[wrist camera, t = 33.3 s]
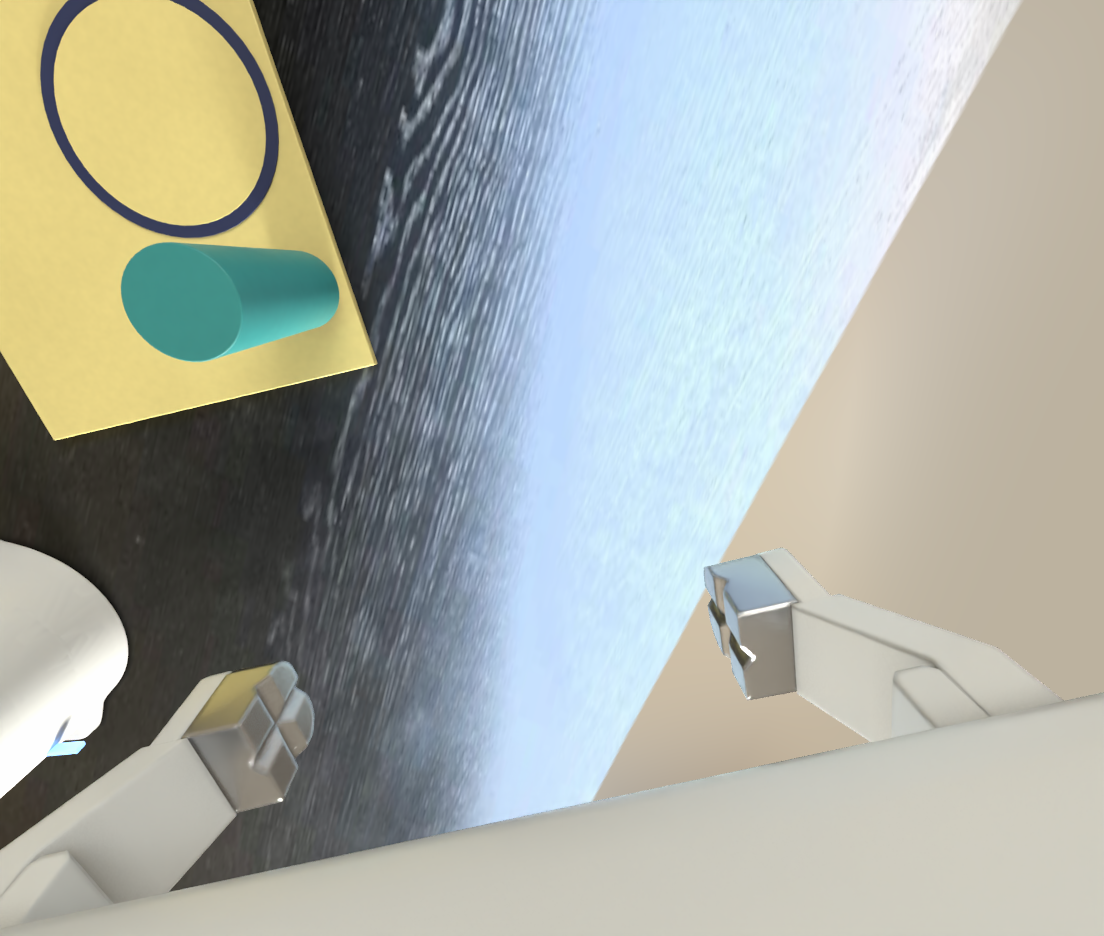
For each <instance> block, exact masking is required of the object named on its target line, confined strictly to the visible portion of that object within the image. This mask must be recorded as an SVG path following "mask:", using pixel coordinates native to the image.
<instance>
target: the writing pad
mask: <svg viewBox="0 0 1104 936" xmlns="http://www.w3.org/2000/svg"><path fill="white" fill-rule="evenodd" d="M162 242H176V243H191V244H206V245H221V246H236V247H251V248H266V249H281V250H296V251H303V252H307V253H310V254H312V255H314V256H316V257H317V258H319V259H320V260H322V261H323V262H324V263H325V264H326V265H327V266H328V267H329V269H330V270H331V271H332V273H333V275H334V276H335V279H336V281H337V284H338V287H339V304H338V308H337V310H336V312H335V314H334V316H333V317H332V318H331V319H330V320H329V321H328V322H327V323H326V324H324V325H322V326H320V327H317V328H314V329H311V330H307V331H304V332H301V333H298V334H294V335H291V336H288V337H285V338H281V339H278V340H275V341H272V342H268V343H265V344H262V345H259V346H255V347H252V348H249V349H246V350H242V351H239V352H236V353H233V354H229V355H226V356H223V357H220V358H216V359H213V360H210V361H204V362H188V361H183V360H178V359H175V358H173V357H170V356H168V355H166V354H164V353H162V352H160V351H158V350H157V349H155V348H154V347H153V346H151V345H150V344H149V343H148V342H146V341H145V340H144V339H143V338H142V337H141V336H140V334H139V333H138V332H137V331H136V330H135V328H134V327H133V325H132V324H131V322H130V320H129V318H128V316H127V314H126V312H125V309H124V306H123V303H122V297H121V280H122V276H123V272H124V270H125V267H126V265H127V264H128V262H129V261H130V259H131V258H132V257H133V256H134V255H135V254H136V253H137V252H139V251H140V250H141V249H143V248H145V247H147V246H149V245H153V244H156V243H162ZM0 352H1V353H2V355H3V356H4V358H5V360H6V361H7V363H8V365H9V366H10V368H11V370H12V371H13V373H14V375H15V376H16V378H17V380H18V381H19V383H20V385H21V386H22V388H23V390H24V391H25V393H26V395H27V396H28V398H29V400H30V401H31V403H32V405H33V406H34V408H35V410H36V411H37V413H38V415H39V416H40V418H41V420H42V421H43V423H44V425H45V426H46V428H47V429H48V431H49V433H50V434H51V436H52V438H53V439H54V440H59V439H63V438H67V437H72V436H76V435H80V434H84V433H89V432H93V431H97V430H101V429H106V428H110V427H114V426H118V425H123V424H127V423H131V422H135V421H139V420H144V419H148V418H152V417H156V416H161V415H165V414H169V413H173V412H178V411H182V410H186V409H190V408H195V407H199V406H203V405H207V404H212V403H216V402H220V401H224V400H229V399H233V398H237V397H241V396H245V395H250V394H254V393H258V392H262V391H267V390H271V389H275V388H279V387H284V386H288V385H292V384H296V383H301V382H305V381H309V380H313V379H318V378H322V377H326V376H330V375H334V374H339V373H343V372H347V371H351V370H356V369H360V368H364V367H368V366H373V365H375V364H377V360H376V358H375V355H374V352H373V349H372V346H371V343H370V340H369V337H368V334H367V331H366V328H365V326H364V323H363V320H362V317H361V314H360V311H359V308H358V305H357V302H356V299H355V296H354V294H353V291H352V288H351V285H350V282H349V279H348V276H347V273H346V270H345V267H344V264H343V262H342V259H341V256H340V253H339V250H338V247H337V244H336V241H335V238H334V235H333V232H332V230H331V227H330V224H329V221H328V218H327V215H326V212H325V209H324V206H323V203H322V200H321V198H320V195H319V192H318V189H317V186H316V183H315V180H314V177H313V174H312V171H311V168H310V166H309V163H308V160H307V157H306V154H305V151H304V148H303V145H302V142H301V139H300V136H299V134H298V131H297V128H296V125H295V122H294V119H293V116H292V113H291V110H290V107H289V104H288V102H287V99H286V96H285V93H284V90H283V87H282V84H281V81H280V78H279V75H278V72H277V70H276V67H275V64H274V61H273V58H272V55H271V52H270V49H269V46H268V43H267V40H266V38H265V35H264V32H263V29H262V26H261V23H260V20H259V17H258V14H257V11H256V8H255V6H254V3H253V0H0Z"/></svg>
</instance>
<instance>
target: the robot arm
mask: <svg viewBox="0 0 1104 936" xmlns="http://www.w3.org/2000/svg"><path fill="white" fill-rule="evenodd" d="M704 581H705V586H706V588H707V590H708V592H709V594H710V595H711V597H712V599H711V601H710V602H709V604H708V610H709V615H710V621H711V625H712V628H713V632H714V635H715V638H716V640H717V643H718V645H719V647H720V649H721V651H722V653H723V655H725V656H727V657H729V658H731V664H732V671H733V674H734V676H735V678H736V680H737V681H738V683H739V685H740V687H741V689H742V691H743V693H744V694H745V696H746V698H747V700H753V699H758V698H764V697H769V696H774V695H780V694H785V693H790V692H796V691H797V694H798V695H800V696H801V697H803V698H804V699H806V700H808V701H809V702H811V703H812V704H814V705H815V706H817V707H818V708H820V709H821V710H823V711H824V712H826V713H827V714H829V715H831V716H832V717H834V718H835V719H837V720H838V721H840V722H841V723H843V724H844V725H846V726H847V727H849V728H850V729H852V730H853V731H855V732H857V733H858V734H860V735H861V736H863V737H864V738H866V739H867V740H869V741H870V742H869V743H865V744H860V745H855V746H851V747H846V748H841V749H836V750H832V751H827V752H822V753H818V754H813V755H808V756H804V757H799V758H794V759H790V760H785V761H781V762H776V763H772V764H767V765H762V766H758V767H753V768H749V769H744V770H739V771H735V772H731V773H726V774H721V775H716V776H712V777H708V778H703V779H698V780H693V781H688V782H683V783H679V784H674V785H669V786H664V787H660V788H655V789H650V790H646V791H641V792H637V793H631V794H627V795H622V796H617V797H612V798H608V799H604V800H598V801H593V802H589V803H584V804H579V805H575V806H570V807H565V808H560V809H556V810H551V811H546V812H541V813H537V814H532V815H527V816H523V817H518V818H513V819H509V820H504V821H499V822H495V823H490V824H485V825H481V826H476V827H471V828H467V829H462V830H457V831H453V832H448V833H443V834H439V835H434V836H429V837H425V838H420V839H415V840H411V841H406V842H401V843H397V844H392V845H387V846H383V847H378V848H373V849H369V850H364V851H360V852H355V853H350V854H346V855H341V856H336V857H332V858H327V859H322V860H318V861H313V862H308V863H304V864H299V865H294V866H289V867H285V868H280V869H275V870H271V871H266V872H261V873H257V874H252V875H247V876H243V877H238V878H233V879H229V880H224V881H219V882H215V883H210V884H205V885H201V886H196V887H191V888H187V889H182V890H177V891H172V892H169V891H170V890H171V889H172V888H173V886H174V885H175V884H176V883H177V882H178V881H179V880H180V878H181V877H182V876H183V875H184V874H185V873H186V872H187V871H188V869H189V868H190V867H191V866H192V865H193V864H194V863H195V862H196V860H197V859H198V858H199V857H200V856H201V855H202V854H203V853H204V851H205V850H206V849H207V848H208V847H209V846H210V845H211V844H212V842H213V841H214V840H215V839H216V838H217V837H218V836H219V835H220V833H221V832H222V831H223V830H224V829H225V828H226V827H227V826H228V824H229V823H230V822H231V821H232V820H233V819H234V818H235V817H236V815H237V814H236V813H237V812H241V811H245V810H249V809H253V808H257V807H261V806H265V805H269V804H273V803H277V802H281V801H283V800H284V798H285V796H286V794H287V791H288V789H289V787H290V785H291V782H292V780H293V778H294V776H295V773H296V771H297V769H298V765H297V763H296V760H295V758H296V757H297V756H298V755H299V754H300V753H301V752H302V751H303V750H304V749H305V748H306V747H307V746H308V744H309V741H310V739H311V736H312V734H313V729H314V718H315V715H314V711H313V706H312V703H311V701H310V699H309V697H308V695H307V694H306V693H305V692H303V691H301V690H299V689H298V688H296V687H295V685H296V682H297V678H298V675H297V674H296V672H295V670H294V668H293V667H292V665H291V663H288V662H285V661H279V662H274V663H269V664H264V665H259V666H254V667H249V668H244V669H239V670H234V671H229V672H225V673H220V674H216V675H211V676H209V677H206V678H204V679H202V680H201V681H200V682H199V683H198V685H197V686H196V687H195V688H194V690H193V691H192V692H191V694H190V695H189V696H188V697H187V699H186V700H185V701H184V703H183V704H182V705H181V706H180V708H179V709H178V710H177V712H176V713H175V714H174V715H173V717H172V718H171V719H170V721H169V722H168V723H167V724H166V726H165V727H164V728H163V730H162V731H161V732H160V734H159V735H158V736H157V737H156V739H155V740H154V741H153V743H152V744H151V745H150V746H148V747H144V748H141V749H139V750H138V751H137V752H135V753H134V754H132V755H131V756H130V757H128V758H127V759H126V760H124V761H123V762H121V763H120V764H119V765H117V766H116V767H114V768H113V769H112V770H110V771H109V772H108V773H106V774H105V775H103V776H102V777H101V778H99V779H98V780H97V781H95V782H94V783H92V784H91V785H90V786H88V787H87V788H85V789H84V790H83V791H81V792H80V793H79V794H77V795H76V796H74V797H73V798H72V799H70V800H69V801H68V802H66V803H65V804H63V805H62V806H61V807H59V808H58V809H56V810H55V811H54V812H52V813H51V814H50V815H48V816H47V817H45V818H44V819H43V820H41V821H40V822H39V823H37V824H36V825H34V826H33V827H32V828H30V829H29V830H27V831H26V832H25V833H23V834H22V835H21V836H19V837H18V838H16V839H15V840H14V841H12V842H11V843H10V844H8V845H7V846H5V847H4V848H3V849H1V850H0V936H1104V692H1103V693H1099V694H1094V695H1089V696H1085V697H1080V698H1076V699H1071V700H1066V701H1064V700H1063V699H1061V698H1060V697H1059V696H1058V695H1056V694H1055V693H1054V692H1053V691H1051V690H1050V689H1049V688H1048V687H1046V686H1045V685H1044V684H1042V683H1041V682H1040V681H1039V680H1037V679H1036V678H1035V677H1034V676H1033V675H1031V674H1030V673H1029V672H1028V671H1026V670H1025V669H1024V668H1023V667H1021V666H1020V665H1019V664H1017V663H1016V662H1015V661H1014V660H1013V659H1011V658H1010V657H1009V656H1008V655H1006V654H1005V653H1004V652H1003V651H1001V650H1000V649H999V648H998V647H995V646H992V645H989V644H986V643H983V642H980V641H977V640H974V639H971V638H968V637H966V636H963V635H960V634H956V633H954V632H951V631H948V630H945V629H942V628H939V627H936V626H933V625H930V624H927V623H924V622H921V621H918V620H915V619H912V618H909V617H906V616H903V615H900V614H897V613H894V612H892V611H889V610H886V609H883V608H880V607H877V606H874V605H870V604H868V603H865V602H862V601H859V600H856V599H853V598H850V597H847V596H844V595H841V594H837V595H832V596H831V595H830V594H829V593H828V592H827V591H826V590H825V589H824V588H823V587H822V585H820V583H819V582H818V581H817V580H816V579H815V578H814V577H812V575H811V574H810V573H809V572H808V571H807V570H806V569H805V568H804V567H803V566H802V565H801V564H800V563H799V562H798V561H797V560H796V559H795V557H794V556H793V555H792V554H791V553H790V552H789V551H788V550H787V549H784V548H779V549H774V550H770V551H767V552H763V553H759V554H756V555H753V556H750V557H745V558H741V559H737V560H732V561H728V562H724V563H720V564H716V565H711V566H707V567H704ZM127 660H128V642H127V637H126V633H125V630H124V627H123V625H122V622H121V620H120V618H119V616H118V614H117V613H116V611H115V609H114V608H113V607H112V605H111V604H110V602H109V601H108V600H107V599H106V597H105V596H104V595H103V594H102V593H101V592H100V591H99V590H98V589H97V588H96V587H95V586H94V585H93V584H92V583H91V582H90V581H88V580H87V579H86V578H85V577H83V576H82V575H81V574H79V573H78V572H77V571H75V570H74V569H72V568H70V567H69V566H67V565H66V564H64V563H62V562H60V561H59V560H57V559H55V558H52V557H50V556H48V555H46V554H44V553H41V552H39V551H36V550H33V549H31V548H27V547H24V546H21V545H17V544H13V543H9V542H6V541H2V540H0V798H1V797H2V796H3V795H4V794H5V793H7V792H8V791H9V790H10V789H11V788H12V787H13V786H14V785H15V784H17V783H18V782H19V781H20V780H21V779H22V778H23V777H24V776H25V775H27V774H28V773H29V772H30V771H31V770H32V769H33V768H34V767H35V766H36V765H38V764H39V763H40V762H41V761H42V760H43V759H44V758H45V757H46V756H54V755H66V754H77V753H78V752H79V751H80V750H81V749H82V748H83V747H84V745H85V742H84V741H79V742H68V743H62V742H63V741H64V740H78V739H83V738H85V737H87V736H88V735H89V734H90V733H91V732H92V731H93V730H95V729H96V728H97V727H98V726H99V724H100V722H101V719H102V713H103V703H104V700H105V698H106V697H107V695H108V694H109V693H110V692H111V691H112V689H113V688H114V687H115V686H116V685H117V683H118V682H119V681H120V679H121V677H122V676H123V673H124V671H125V668H126V665H127Z"/></svg>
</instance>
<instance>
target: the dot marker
mask: <svg viewBox="0 0 1104 936" xmlns="http://www.w3.org/2000/svg"><path fill="white" fill-rule="evenodd" d="M121 297H122V303H123V306H124V309H125V312H126V314H127V316H128V318H129V320H130V322H131V324H132V325H133V327H134V328H135V330H136V331H137V332H138V333H139V334H140V336H141V337H142V338H143V339H144V340H145V341H146V342H148V343H149V344H150V345H151V346H153V347H154V348H155V349H157V350H158V351H160V352H162V353H164V354H166V355H168V356H170V357H173V358H175V359H178V360H183V361H188V362H204V361H210V360H213V359H216V358H220V357H223V356H226V355H229V354H233V353H236V352H239V351H242V350H246V349H249V348H252V347H255V346H259V345H262V344H265V343H268V342H272V341H275V340H278V339H281V338H285V337H288V336H291V335H294V334H298V333H301V332H304V331H307V330H311V329H314V328H317V327H320V326H322V325H324V324H326V323H327V322H328V321H329V320H330V319H331V318H332V317H333V316H334V314H335V312H336V310H337V308H338V304H339V287H338V284H337V281H336V279H335V276H334V275H333V273H332V271H331V270H330V269H329V267H328V266H327V265H326V264H325V263H324V262H323V261H322V260H320V259H319V258H317V257H316V256H314V255H312V254H310V253H307V252H303V251H296V250H281V249H266V248H251V247H236V246H221V245H206V244H191V243H176V242H162V243H156V244H153V245H149V246H147V247H145V248H143V249H141V250H140V251H139V252H137V253H136V254H135V255H134V256H133V257H132V258H131V259H130V261H129V262H128V264H127V265H126V267H125V270H124V272H123V276H122V280H121Z"/></svg>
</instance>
